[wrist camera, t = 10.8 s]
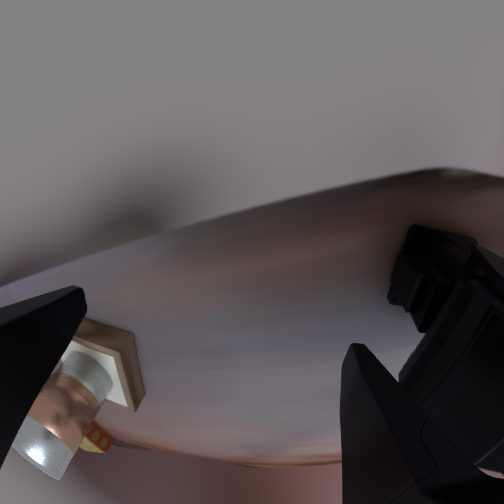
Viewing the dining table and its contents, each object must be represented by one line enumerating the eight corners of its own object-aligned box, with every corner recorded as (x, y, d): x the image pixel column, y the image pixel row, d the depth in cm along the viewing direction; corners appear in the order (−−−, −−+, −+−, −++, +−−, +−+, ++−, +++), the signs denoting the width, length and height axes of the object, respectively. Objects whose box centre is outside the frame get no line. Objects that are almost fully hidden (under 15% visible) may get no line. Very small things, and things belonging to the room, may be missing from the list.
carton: (92, 435, 43) (83, 451, 39) (34, 376, 38) (21, 391, 34) (115, 437, 40) (106, 454, 36) (51, 372, 36) (37, 389, 32)
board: (133, 334, 27) (118, 353, 24) (145, 394, 31) (135, 413, 29) (61, 309, 28) (45, 324, 25) (80, 369, 32) (68, 384, 29)
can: (117, 374, 26) (59, 475, 14) (108, 398, 28) (61, 483, 17) (69, 342, 25) (0, 430, 14) (66, 370, 28) (11, 447, 16)
